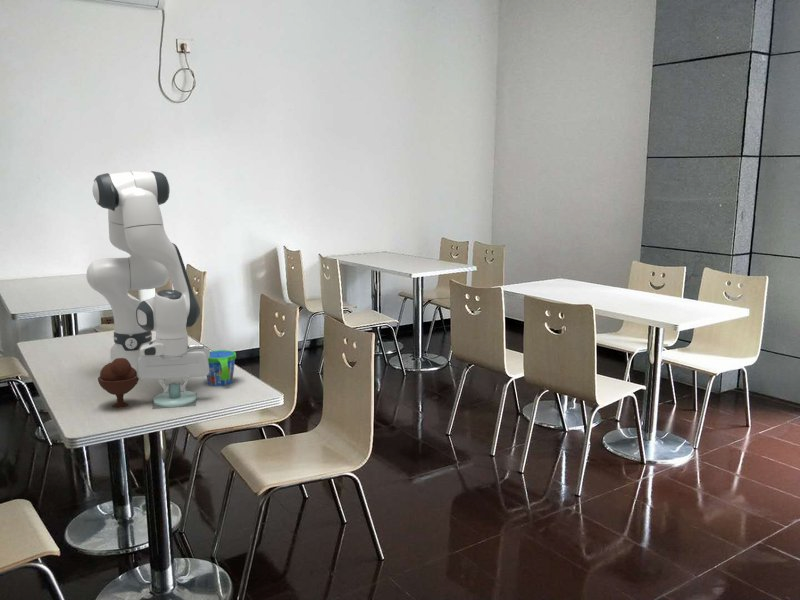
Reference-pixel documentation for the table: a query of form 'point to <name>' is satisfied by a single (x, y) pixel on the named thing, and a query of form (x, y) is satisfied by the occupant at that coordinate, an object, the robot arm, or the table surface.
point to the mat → (174, 407)
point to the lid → (174, 397)
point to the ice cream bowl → (118, 379)
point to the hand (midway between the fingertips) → (174, 391)
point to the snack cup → (221, 367)
